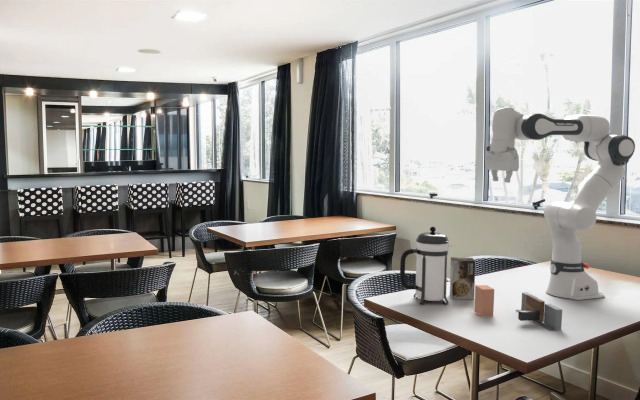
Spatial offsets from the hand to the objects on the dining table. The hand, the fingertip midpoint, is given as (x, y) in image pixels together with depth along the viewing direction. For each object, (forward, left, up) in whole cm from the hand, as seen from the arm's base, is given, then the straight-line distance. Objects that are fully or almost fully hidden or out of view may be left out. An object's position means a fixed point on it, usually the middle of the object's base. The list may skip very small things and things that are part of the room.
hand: (501, 181), depth 212 cm
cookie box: (+15, 0, -48) cm, 50 cm away
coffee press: (+31, +4, -48) cm, 57 cm away
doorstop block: (+16, +22, -48) cm, 55 cm away
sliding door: (+5, +31, -47) cm, 56 cm away
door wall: (0, +31, -48) cm, 57 cm away
